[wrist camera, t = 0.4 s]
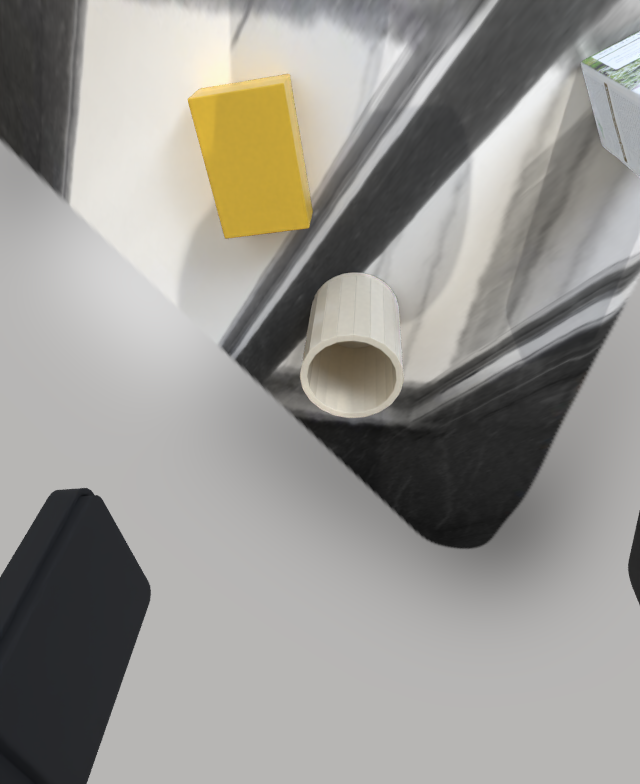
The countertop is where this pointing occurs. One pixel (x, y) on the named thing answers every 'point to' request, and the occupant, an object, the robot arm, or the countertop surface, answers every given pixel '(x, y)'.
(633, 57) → the syrup box
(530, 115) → the countertop surface
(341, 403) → the cup
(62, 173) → the countertop surface
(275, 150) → the block
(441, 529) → the countertop surface
